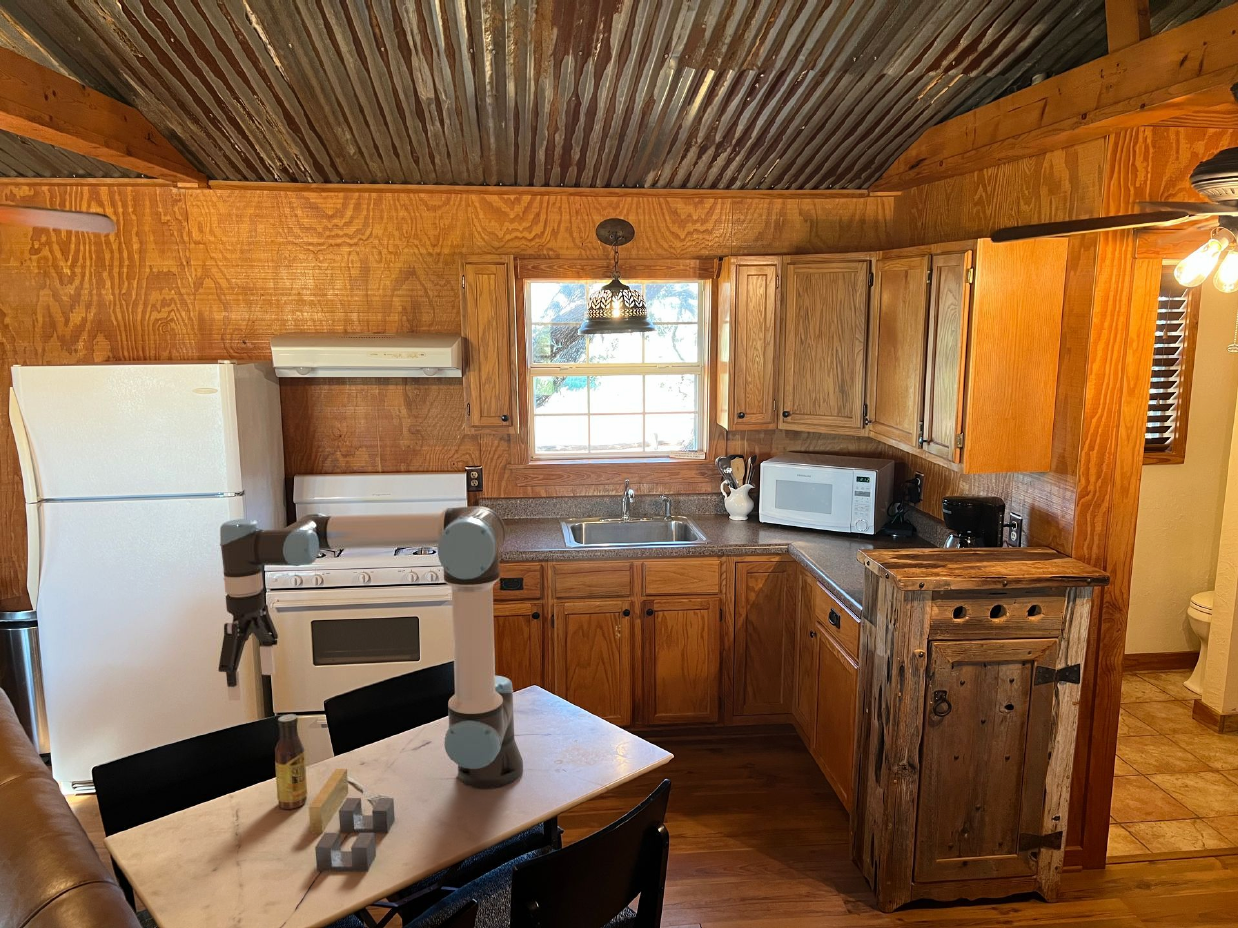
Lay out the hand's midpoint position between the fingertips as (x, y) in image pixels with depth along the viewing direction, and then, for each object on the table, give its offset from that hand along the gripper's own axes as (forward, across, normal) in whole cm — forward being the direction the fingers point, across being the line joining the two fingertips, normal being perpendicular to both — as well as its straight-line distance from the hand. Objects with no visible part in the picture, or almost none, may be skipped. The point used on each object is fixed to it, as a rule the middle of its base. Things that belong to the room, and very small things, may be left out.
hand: (252, 686), depth 192 cm
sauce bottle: (+27, -1, +7) cm, 28 cm away
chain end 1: (+27, +7, +27) cm, 39 cm away
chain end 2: (+27, +20, +28) cm, 44 cm away
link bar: (+27, +2, +17) cm, 32 cm away
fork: (+28, -9, +18) cm, 34 cm away
